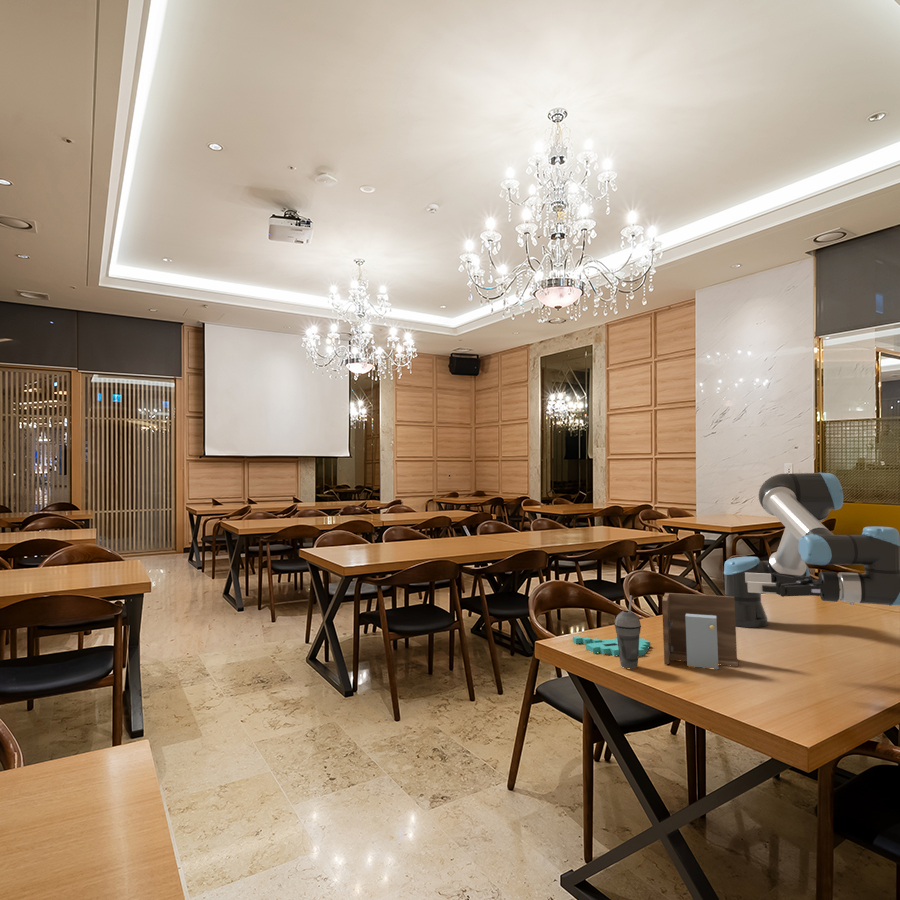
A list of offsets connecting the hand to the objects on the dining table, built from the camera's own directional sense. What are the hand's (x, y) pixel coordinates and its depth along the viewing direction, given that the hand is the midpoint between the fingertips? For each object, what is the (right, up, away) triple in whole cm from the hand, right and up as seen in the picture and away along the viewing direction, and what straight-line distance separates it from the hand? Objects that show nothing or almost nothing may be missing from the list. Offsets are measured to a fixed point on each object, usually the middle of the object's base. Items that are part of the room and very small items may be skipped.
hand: (746, 582), depth 160 cm
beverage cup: (-30, -25, +5) cm, 40 cm away
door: (-10, -25, +4) cm, 27 cm away
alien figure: (-29, -27, +24) cm, 46 cm away
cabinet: (-9, -25, +9) cm, 28 cm away
